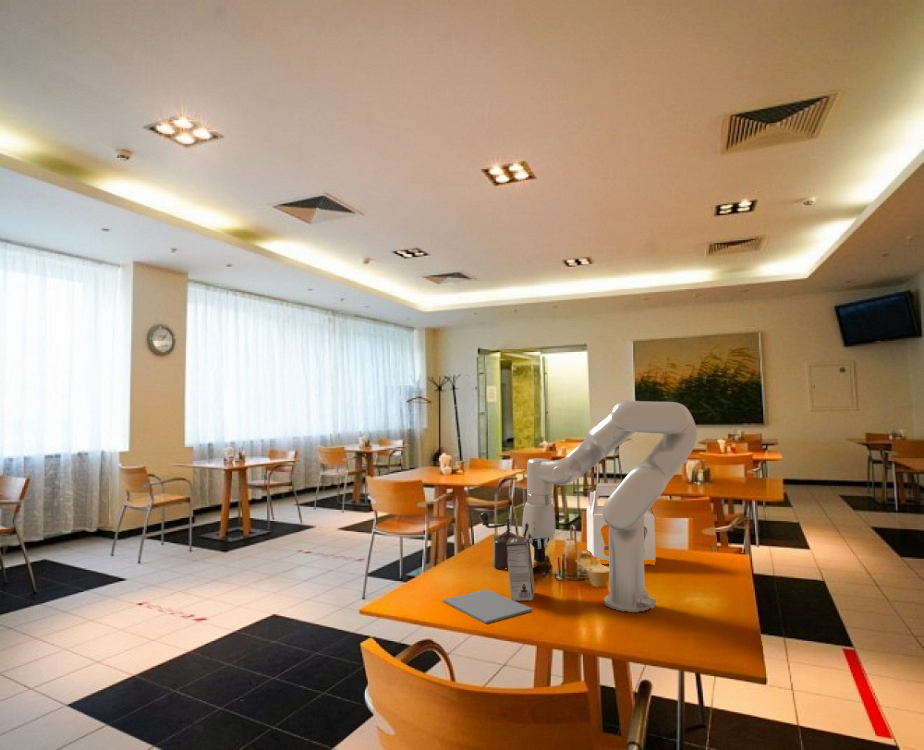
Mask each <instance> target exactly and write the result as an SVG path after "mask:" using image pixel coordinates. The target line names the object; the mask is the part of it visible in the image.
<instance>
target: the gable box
mask: <svg viewBox="0 0 924 750" xmlns="http://www.w3.org/2000/svg"><path fill="white" fill-rule="evenodd" d="M620 483H621V482H616V483H615V482H598V483H596V487H595V490H593V491H589V498H588V504H587V507H586V551H587V550H588V551H590V552H591V553H592V555H593V556H594V557H597V558H599V559H601V560H607V561H609V556H608V555H606V554H605V553H604V550H609V545H605V540H604V538H603V535H602V528H603V527H604V526H608V525H607V523H606V522H605V520H604V518H603V506H604V505H598V498H599V497H602V496H603V497H605V496H606V497H607V496H609V497H610V496H611V494H612V493H613V492H614V491H615V490H616V488H617V487H618V486H619V485H620ZM655 520H656V519H655V513H654V512H653V510H652V506H651V507H650V508H649V509H648V510H647V512H646V513H645V514H644V560H655V561H656V526H655V525H656V524H655V522H656V521H655Z"/></svg>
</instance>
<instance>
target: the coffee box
mask: <svg viewBox="0 0 924 750" xmlns="http://www.w3.org/2000/svg"><path fill="white" fill-rule="evenodd" d="M506 551H507V561H508V569H507V570H508V579H509V590H510V599H511V600H513V601H515V602H519V601H533V600H534V595H535V591H536V588H535V587H536V586H535V580H534V570H533V561H532V560H533V559H532V552H531V544H530V543H529V539H525V537H524V536H521V537H514V538H509V539H508V541H507V543H506Z"/></svg>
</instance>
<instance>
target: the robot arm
mask: <svg viewBox="0 0 924 750" xmlns="http://www.w3.org/2000/svg"><path fill="white" fill-rule="evenodd" d="M635 433H646V434H647V433H649V434H663V435H662V437H661V438H660V440H659V441H658V442H657V444H656V445H655V446H654V447H653V449H652V450H651V452H650V453H649V454H648V455H647V456H646V457H645V459H643V461H642V462H641V463H639V464H637V465H636V466H635V467H633V468H632V469H631V470H630V471H629V473H627V475H626V476H625V477H624V478H623V480H622V481H621V482H619V483H620V485H619V486H618V487H617V488H616V490H615V491H614V492H613V493H612V494H611V496H609V497H608V498H607V499H606V500H605V502H604V504H603V505H602V506H603V518H604V520H605V522H606V523H607V525H606V526H608V546H609V565H608V568H609V569H608V571H609V572H608V579H609V584H608V586H609V594H608V595H606V596H604V597H603V598H604V599H603V603H604V605H605V606H607V607H608V608H610V609H613V610H615V609H616V611H619V610H620V611H619V612H624V611H628V612H627V613H640V612H639V611H643V612H645V611H644V610H647V609H649V608H650V609H654V608H655V605H656V603H657V600H656V598H653V597H650V596H649V591H648V590H646V586H645V581H646V580H645V565H644V514H645V513H646V512H647V510H648V509H649V508H650V507H651V508H652V506H653V505H654V503H655V502H656V501H657V500H659V499H658V498H659V497H660V496H661V495H662V493H663V492H664V491H665V489H666V487H667V485H668V484H669V482H670V481H671V480H672V478H674V476H675V475H676V473H677V472H678V471H679V470H680V468H681V467H682V466H683V464H684V463H685V462H686V461H687V460H688V458H689V456H690V455H691V454H692V452H693V450H694V448H695V445H696V443H697V441H696V440H697V426H696V422H695V419H694V418H693V415H692V413H691V412H690V410H689V409H688V407H686V406H685V405H684V404H682V403H679V402H675V401H641V400H629V399H628V400H621V401H619V402H618V403H616V404H615V405H614V407H613V408H612V410H611V412H610V413H609V414H608V415H607V416H606V417H604V418H603V419H602V420H601V421H600V422H598V423H597V424H596V425H595V426H594V427H592V428H591V429H590V430H589V431H588V432H587V434H586V436H585V438H584V440H583V441H582V442H581V443H580V444H579V445H578V446H577V447H575V449H573V450H572V451H571V452H570V453H568V455H566V456H565V457H564V458H561V459H555V460H550V459H548V458H542V457H541V458H540V457H539V458H538V457H535V458H529V459H528V460H527V463H526V503H525V505H524V507H523V513H522V521H521V523H522V524H521V536H522V537H525V539H529V543H530V545H531V546H532V548H533V559H534V561H535V562H538V563H545V562H546V549H547V547H548V544H549V542H551V540H554V538H555V533H556V515H555V514H556V513H555V508H554V503H553V499H554V495H553V485H556V486H567V485H569V484H571V483H573V482H576V481H577V480H578V479H580V478H581V477H583V475H584V474H586V473H587V472H588V471H589V470H590V469H592V468H593V467H594V466H595V465H597V464H598V463H599V462H601V460H603V459H605V458H606V457H607V456H608V455H609V454H610V453H613V451H614V450H615V449H617V447H619V446H620V445H621V444H623V443H624V442H625V441H626V440H627V439H628V438H630V437H631V436H633V435H634V434H635ZM650 609H649V610H650ZM647 611H648V610H647Z"/></svg>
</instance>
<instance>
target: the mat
mask: <svg viewBox="0 0 924 750" xmlns="http://www.w3.org/2000/svg"><path fill="white" fill-rule="evenodd" d="M444 602H445V603H444ZM442 603H444V604H446V603H447V604H446V605H448V604H449V605H448V606H450V605H451V607H452V606H453V607H452V608H453V609H456V610H458V611H460V612H462V613H464V614H466V615H468V616H470V617H472V618H474V619H475V620H477V621H479V620H480V621H479V622H481V621H482V622H481V623H483V622H484V623H483V624H485V623H487V624H490V623H493V621H494V622H498V621H501V620H505V619H507V618H512V617H516V616H519V615H522V614H525V613H528V612H529V613H530V612H532V611H533V607H529V606H527V605H525V604H522V603H520V602H519V601H513V600H511V598H508V597H506V596H504V595H502V594H499V593H498V592H497V593H496V592H494V591H492V590H489V589H487V588H486V589H482V590H478V591H474V592H470V593H465V594H462V595H458V596H453V597H449V598H444V599H442ZM489 622H490V623H489Z"/></svg>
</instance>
